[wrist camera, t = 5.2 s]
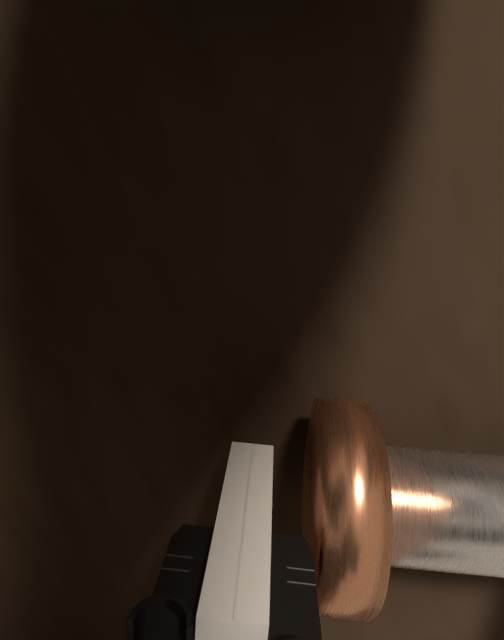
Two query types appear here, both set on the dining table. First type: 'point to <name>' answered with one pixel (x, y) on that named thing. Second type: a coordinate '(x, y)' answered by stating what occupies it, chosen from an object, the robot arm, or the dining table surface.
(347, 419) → the bolt
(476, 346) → the dining table surface
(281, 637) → the robot arm
